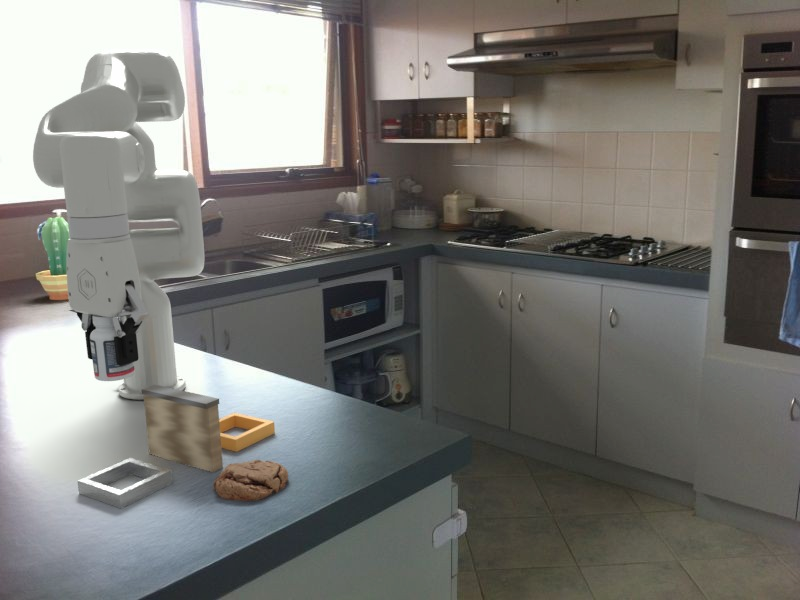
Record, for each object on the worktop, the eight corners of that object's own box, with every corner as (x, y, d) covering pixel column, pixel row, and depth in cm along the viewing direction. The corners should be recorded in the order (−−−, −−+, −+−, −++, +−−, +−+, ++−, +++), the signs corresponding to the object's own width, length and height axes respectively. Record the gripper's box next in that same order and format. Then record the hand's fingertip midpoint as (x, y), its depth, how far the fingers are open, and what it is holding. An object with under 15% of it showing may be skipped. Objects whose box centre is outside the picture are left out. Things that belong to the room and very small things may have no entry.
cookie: (303, 484, 114) (302, 464, 113) (243, 511, 106) (241, 490, 106) (259, 466, 121) (258, 447, 120) (200, 490, 113) (198, 470, 112)
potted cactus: (81, 290, 261) (72, 213, 256) (97, 296, 249) (89, 217, 244) (31, 297, 251) (21, 218, 246) (46, 304, 240) (36, 221, 234)
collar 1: (79, 493, 112) (77, 480, 112) (131, 470, 119) (130, 457, 119) (121, 508, 107) (119, 494, 107) (172, 483, 115) (171, 470, 114)
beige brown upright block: (147, 454, 125) (141, 389, 123) (160, 449, 127) (154, 384, 125) (211, 473, 118) (206, 403, 115) (224, 467, 120) (219, 398, 117)
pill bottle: (142, 371, 112) (136, 310, 110) (120, 383, 107) (113, 319, 105) (109, 369, 113) (103, 308, 111) (86, 380, 108) (79, 317, 106)
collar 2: (196, 441, 130) (195, 429, 130) (235, 423, 137) (234, 412, 137) (236, 451, 125) (235, 439, 125) (274, 433, 133) (274, 421, 132)
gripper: (34, 228, 107) (51, 358, 111) (117, 235, 98) (132, 376, 102) (83, 222, 113) (96, 345, 117) (165, 228, 104) (177, 361, 108)
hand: (113, 358), depth 110 cm, fingers closed on pill bottle, 5 cm apart
